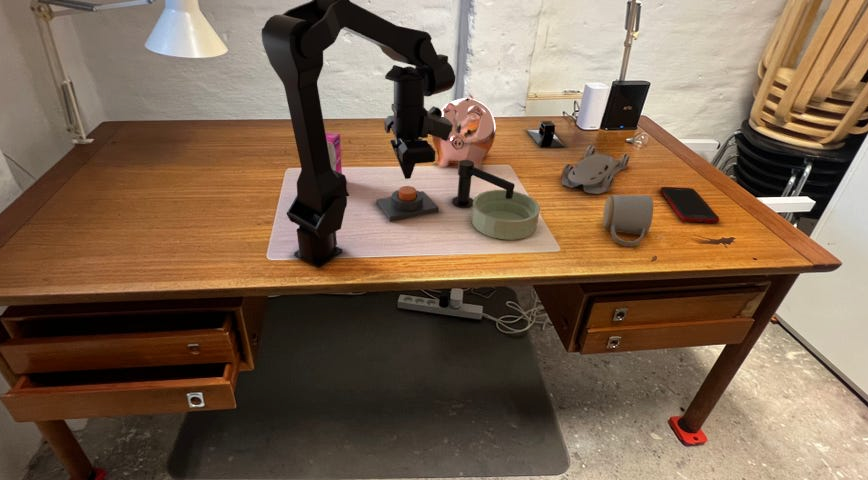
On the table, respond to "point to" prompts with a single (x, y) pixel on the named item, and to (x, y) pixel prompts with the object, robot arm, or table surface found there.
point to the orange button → (407, 193)
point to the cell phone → (689, 205)
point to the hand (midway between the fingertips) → (407, 178)
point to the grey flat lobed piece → (593, 172)
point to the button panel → (406, 206)
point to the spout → (484, 176)
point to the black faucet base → (463, 194)
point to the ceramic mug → (628, 216)
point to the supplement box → (334, 151)
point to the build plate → (546, 136)
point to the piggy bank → (466, 132)
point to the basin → (505, 214)
